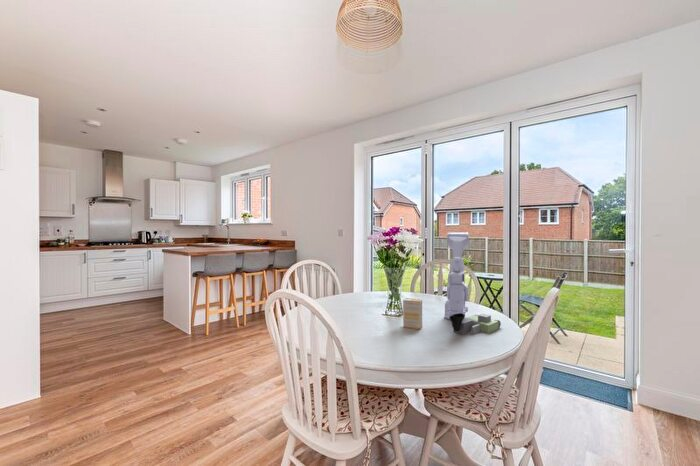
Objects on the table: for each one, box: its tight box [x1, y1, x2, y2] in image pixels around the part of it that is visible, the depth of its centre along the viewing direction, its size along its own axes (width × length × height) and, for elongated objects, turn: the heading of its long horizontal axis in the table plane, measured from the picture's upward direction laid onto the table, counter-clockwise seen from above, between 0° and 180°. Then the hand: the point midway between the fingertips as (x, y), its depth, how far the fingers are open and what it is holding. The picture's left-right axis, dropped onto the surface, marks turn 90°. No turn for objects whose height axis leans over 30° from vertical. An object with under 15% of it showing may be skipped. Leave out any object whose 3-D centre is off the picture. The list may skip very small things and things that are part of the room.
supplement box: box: [402, 297, 423, 330], centre depth 144 cm, size 8×5×13 cm, turn 65°
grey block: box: [452, 317, 472, 336], centre depth 138 cm, size 5×7×5 cm
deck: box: [466, 313, 502, 335], centre depth 142 cm, size 12×18×6 cm
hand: (456, 330), depth 135 cm, fingers closed
